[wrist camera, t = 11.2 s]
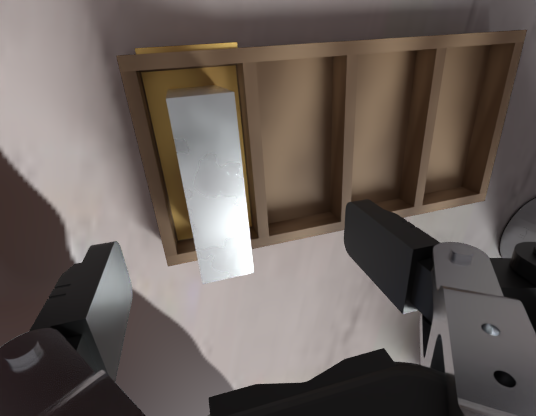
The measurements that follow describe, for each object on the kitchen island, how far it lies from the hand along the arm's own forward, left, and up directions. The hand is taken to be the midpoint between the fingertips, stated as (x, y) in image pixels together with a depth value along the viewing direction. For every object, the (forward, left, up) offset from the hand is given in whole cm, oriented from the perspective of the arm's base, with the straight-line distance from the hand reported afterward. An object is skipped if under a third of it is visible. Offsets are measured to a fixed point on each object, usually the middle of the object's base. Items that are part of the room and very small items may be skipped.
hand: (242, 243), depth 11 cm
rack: (-10, 0, -14) cm, 17 cm away
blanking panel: (0, 0, -12) cm, 12 cm away
